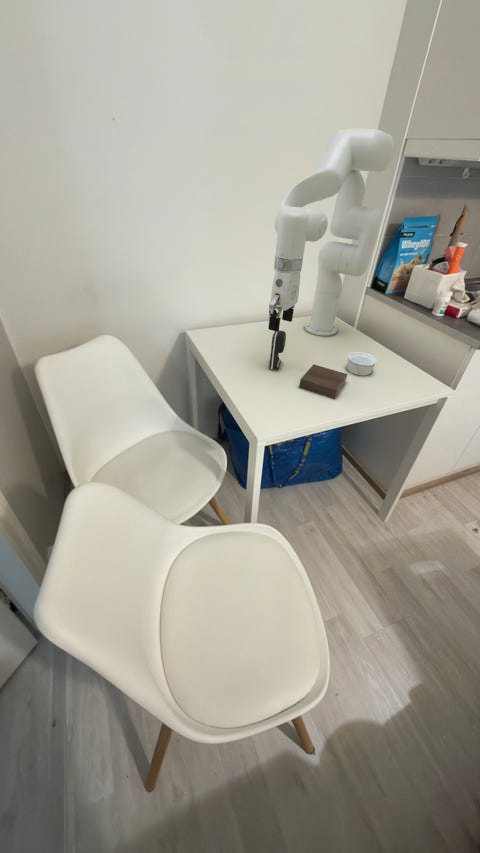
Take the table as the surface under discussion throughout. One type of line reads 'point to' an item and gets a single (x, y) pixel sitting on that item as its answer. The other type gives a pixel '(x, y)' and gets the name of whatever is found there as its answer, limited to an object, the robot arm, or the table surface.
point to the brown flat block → (323, 381)
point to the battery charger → (277, 349)
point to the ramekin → (360, 363)
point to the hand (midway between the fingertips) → (280, 325)
